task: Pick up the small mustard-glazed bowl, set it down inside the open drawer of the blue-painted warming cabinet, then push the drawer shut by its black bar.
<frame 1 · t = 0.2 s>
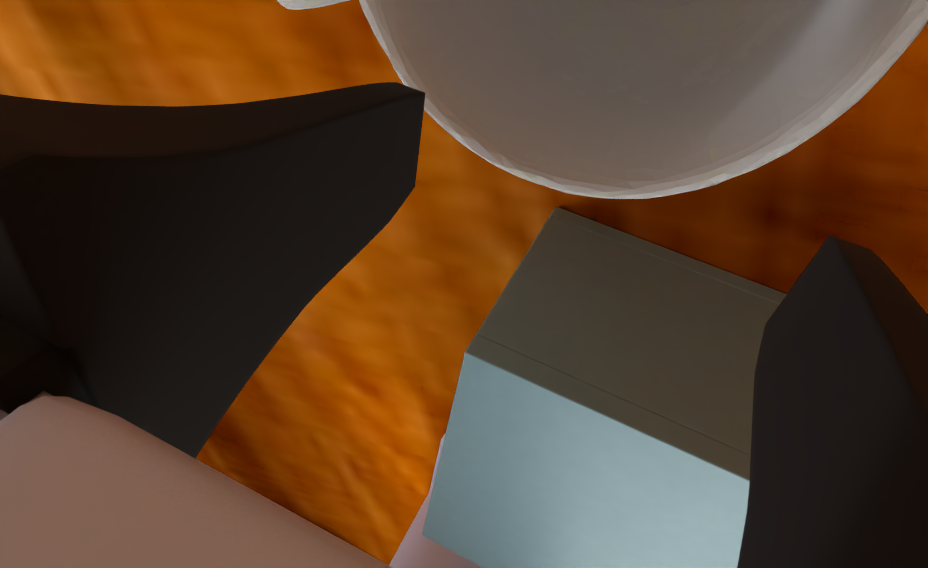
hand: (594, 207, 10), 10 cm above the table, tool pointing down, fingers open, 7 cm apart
cabinet: (669, 373, 25), on the table
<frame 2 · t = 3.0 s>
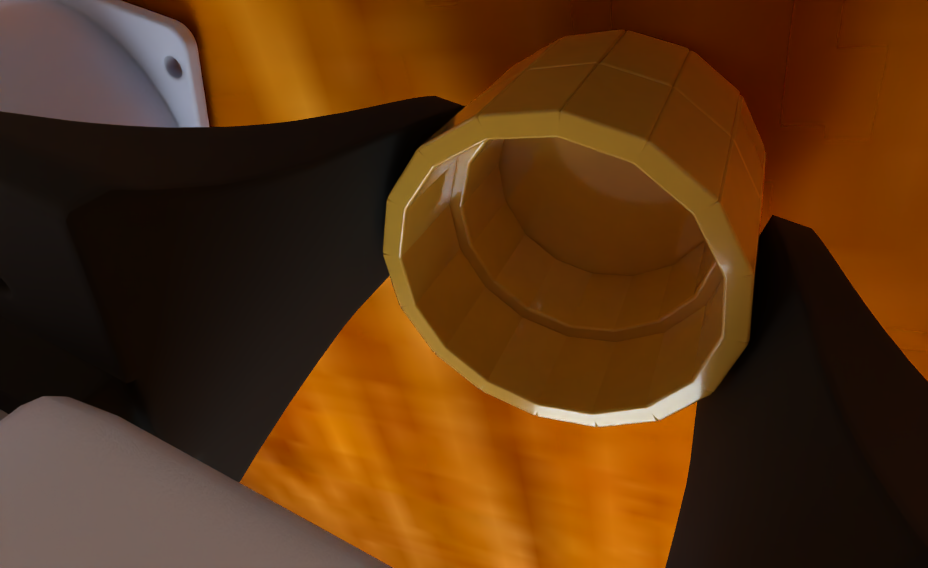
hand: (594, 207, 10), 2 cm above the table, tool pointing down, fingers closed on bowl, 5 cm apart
bowl: (611, 169, 12), on the table, touching gripper
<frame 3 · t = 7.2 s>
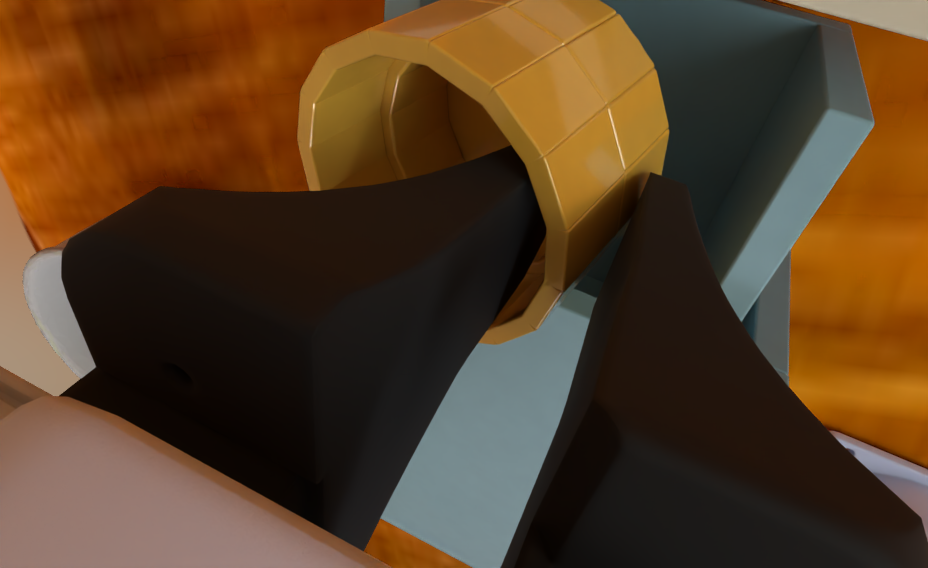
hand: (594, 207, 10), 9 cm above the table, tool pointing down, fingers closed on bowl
cabinet: (557, 290, 24), on the table
teacup: (252, 282, 33), on the table
drawer: (615, 81, 14), point 4 cm above the table, slide at 6.5 cm, touching bowl
bowl: (546, 114, 12), point 7 cm above the table, tilted 12°, touching drawer, gripper
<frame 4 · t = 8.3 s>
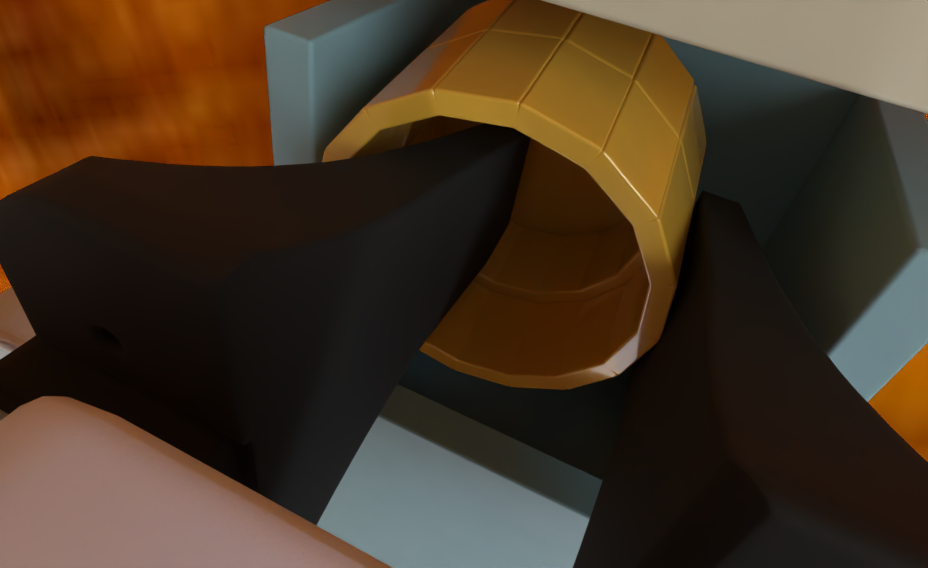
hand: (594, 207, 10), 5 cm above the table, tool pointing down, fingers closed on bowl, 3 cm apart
cabinet: (536, 370, 20), on the table
teacup: (203, 338, 29), on the table
drawer: (598, 155, 10), point 4 cm above the table, slide at 6.9 cm, touching bowl
bowl: (556, 129, 11), point 3 cm above the table, tilted 6°, touching drawer, gripper
when the fingers open (5 cm above the table, at t = 9.6 s): bowl moves 2 cm, resting on drawer.
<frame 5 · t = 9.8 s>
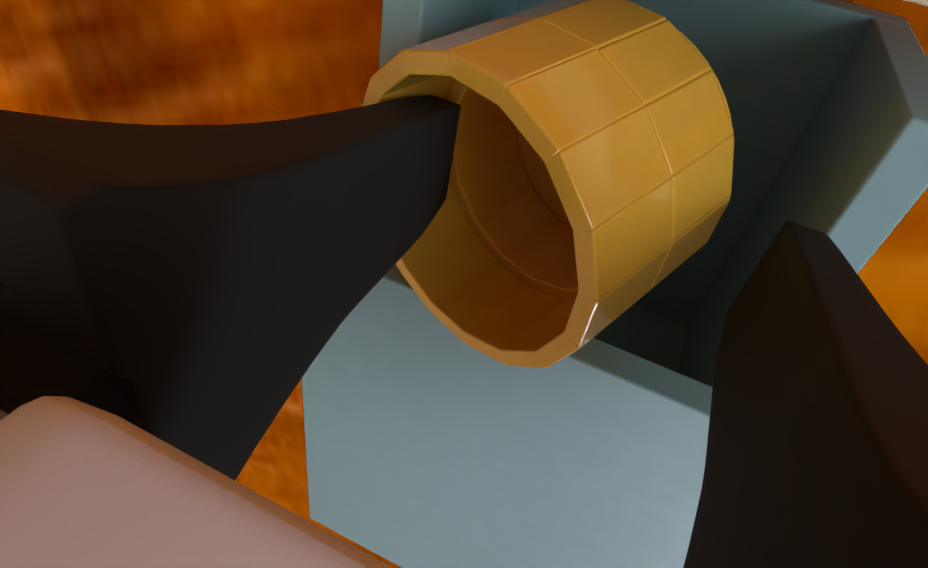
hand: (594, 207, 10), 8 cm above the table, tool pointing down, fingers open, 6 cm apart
cabinet: (564, 313, 23), on the table
drawer: (643, 82, 12), point 4 cm above the table, slide at 7.1 cm, touching bowl
bowl: (612, 138, 12), point 6 cm above the table, tilted 23°, touching drawer, gripper
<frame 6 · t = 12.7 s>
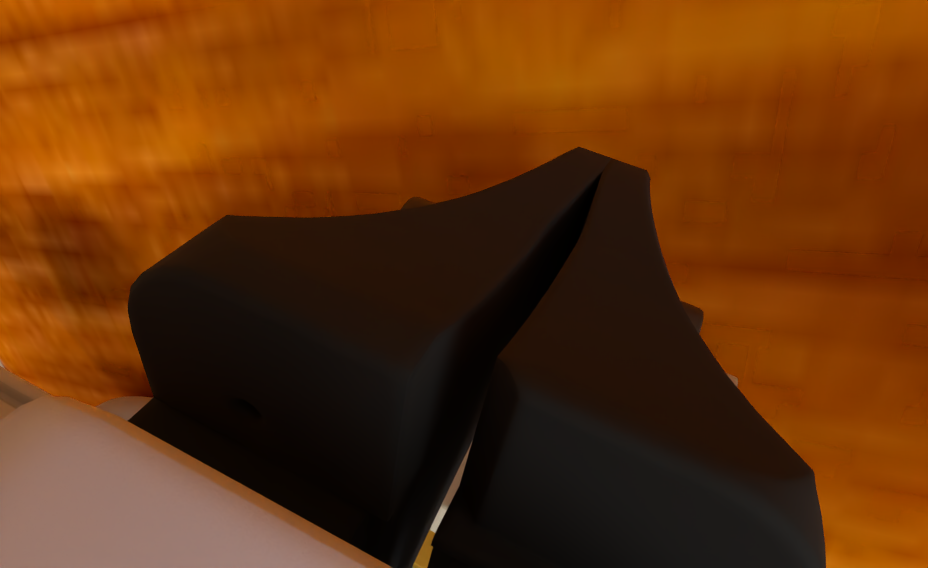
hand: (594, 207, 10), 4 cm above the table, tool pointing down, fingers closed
teacup: (213, 450, 35), on the table
drawer: (475, 478, 16), point 4 cm above the table, slide at 6.3 cm, touching bowl
bowl: (498, 416, 18), point 2 cm above the table, touching drawer
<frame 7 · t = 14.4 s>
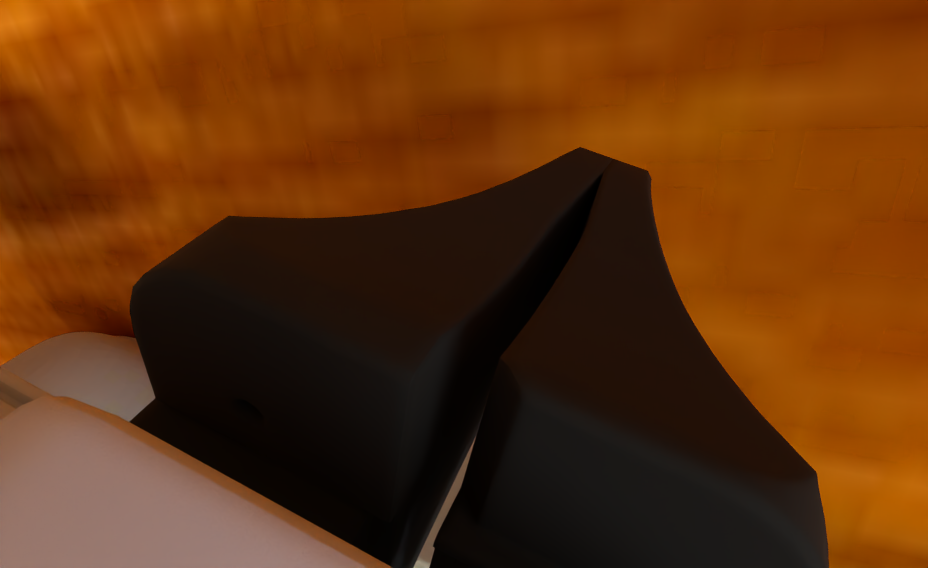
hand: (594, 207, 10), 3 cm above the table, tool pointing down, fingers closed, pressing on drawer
teacup: (183, 404, 30), on the table
drawer: (459, 514, 16), point 4 cm above the table, slide at 0.0 cm, touching bowl, cabinet, gripper
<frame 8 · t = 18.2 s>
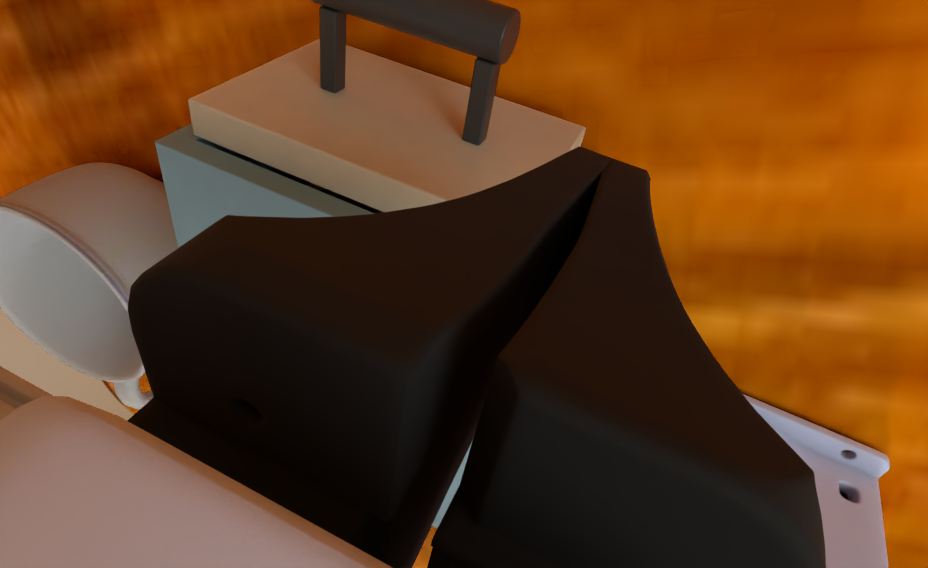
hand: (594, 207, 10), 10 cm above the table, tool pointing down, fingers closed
cabinet: (432, 241, 27), on the table
teacup: (183, 246, 36), on the table
drawer: (391, 223, 21), point 4 cm above the table, slide at 0.0 cm, touching bowl
bowl: (416, 194, 23), point 2 cm above the table, touching drawer
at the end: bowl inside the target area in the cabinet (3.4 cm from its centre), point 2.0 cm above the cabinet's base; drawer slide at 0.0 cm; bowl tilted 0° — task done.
